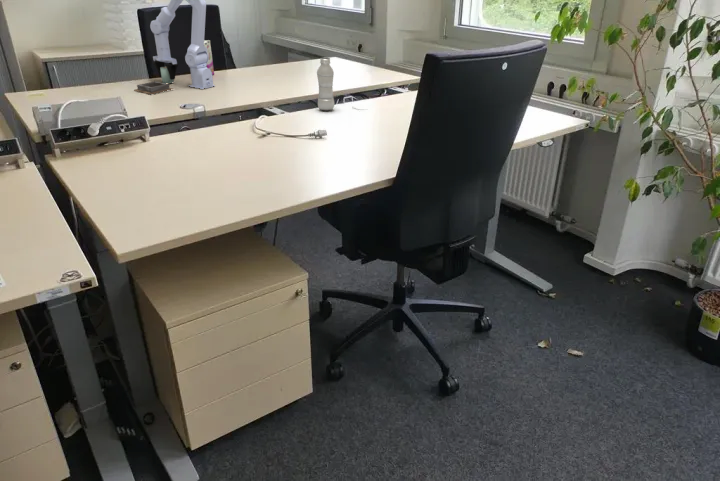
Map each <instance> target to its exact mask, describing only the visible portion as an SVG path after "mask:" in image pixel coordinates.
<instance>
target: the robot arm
mask: <svg viewBox="0 0 720 481" xmlns="http://www.w3.org/2000/svg"><path fill="white" fill-rule="evenodd" d="M183 1H184V0H169V2H168V4H167V6H164V7H161V8H160V12H159V14H158V16H156V17H155V18H156V19H154V20H151V21H150V25H149V27H150V30H151V32H152V34H153V36H154V41H155V46H156V47H155V48H156V54H157V55H155V56H154V55H153V56H152V60H153V62H152V64H153V66H154V67H155V69H156V71H157V74H158V75H159V78H162V77H161V70H160V67H165V66H166V67H167V69H168V72H169V76H170V79H171V80H173V79H174V80H175V79H176V73H177V69H178V66H179V63H178V61H177V59H176V58H174V57H172V55H171V49H170V44H169V43H170V41H169V31H170V25H171V23H172V21H173V20H174V19H175V17H176V11H177V9H178V8H179V7H180V5H181V4H182V3H183ZM185 1H186V2H187V3H188V4H189V5H190V6H191V7H192V13H191V38H190V44H189V46H188V47H187V52H186V53H185V56H184V59H185V63H186V65H188V68H189V71H190V78H191V84H189V85H187V86H188V87H189V86H190V88H193V87H195V88H194V89H198V88H200V89H199V90H204V88H205V89H209V88H212V87H213V86H214V87H215V86H216V85H215V84H214V80H213V79H214V78H213V76H212V72H211V70H210V69H208V68H207V67H206V66H207V62H208V60H209V56H208V53H207V48H206V47H205V46H204V40H205V34H206V33H205V32H206V31H205V30H206V29H205V28H206V16H207V15H206V14H207V13H206V12H207V2H206V0H185ZM165 63H166V64H165ZM214 87H213V88H214Z"/></svg>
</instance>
